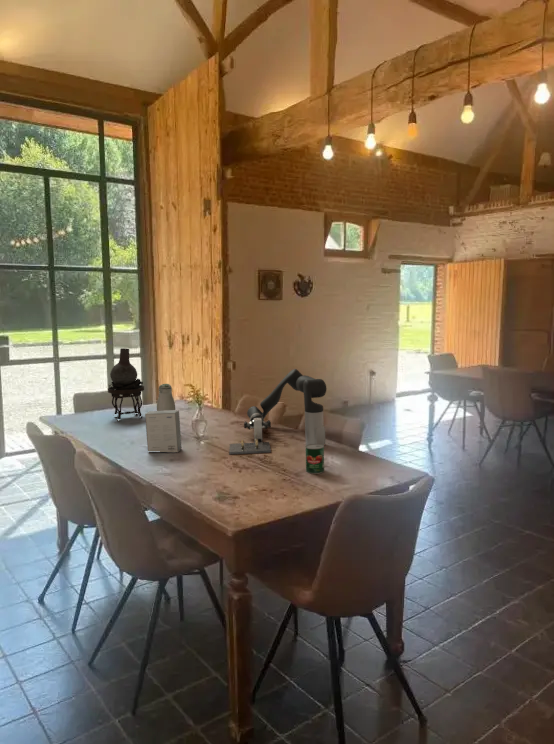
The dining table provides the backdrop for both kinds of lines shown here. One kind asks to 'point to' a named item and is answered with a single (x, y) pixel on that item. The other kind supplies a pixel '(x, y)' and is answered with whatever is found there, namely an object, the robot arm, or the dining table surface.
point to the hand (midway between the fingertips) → (257, 427)
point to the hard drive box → (163, 431)
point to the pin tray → (249, 448)
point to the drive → (258, 429)
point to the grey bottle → (165, 398)
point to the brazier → (125, 383)
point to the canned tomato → (314, 458)
